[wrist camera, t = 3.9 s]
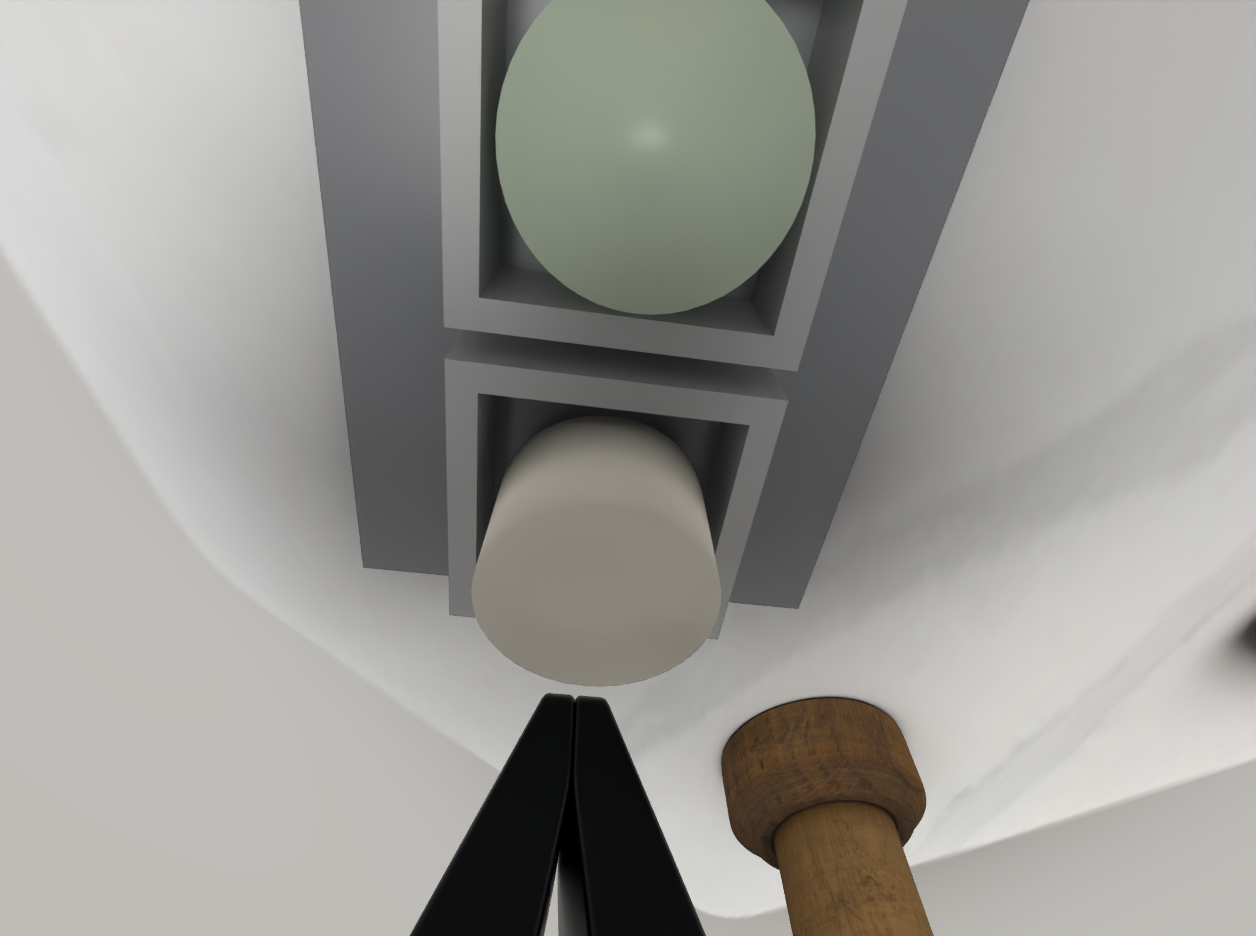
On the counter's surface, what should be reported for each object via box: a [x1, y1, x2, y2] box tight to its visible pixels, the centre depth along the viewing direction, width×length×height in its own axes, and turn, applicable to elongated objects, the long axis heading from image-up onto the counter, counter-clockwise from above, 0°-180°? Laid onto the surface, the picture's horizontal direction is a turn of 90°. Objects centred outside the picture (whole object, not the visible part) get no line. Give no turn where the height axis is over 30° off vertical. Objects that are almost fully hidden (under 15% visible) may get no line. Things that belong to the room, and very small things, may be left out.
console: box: [299, 0, 1030, 639], centre depth 11 cm, size 12×22×3 cm, turn 172°
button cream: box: [471, 415, 721, 686], centre depth 12 cm, size 4×4×3 cm
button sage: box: [495, 0, 816, 315], centre depth 10 cm, size 4×4×3 cm
